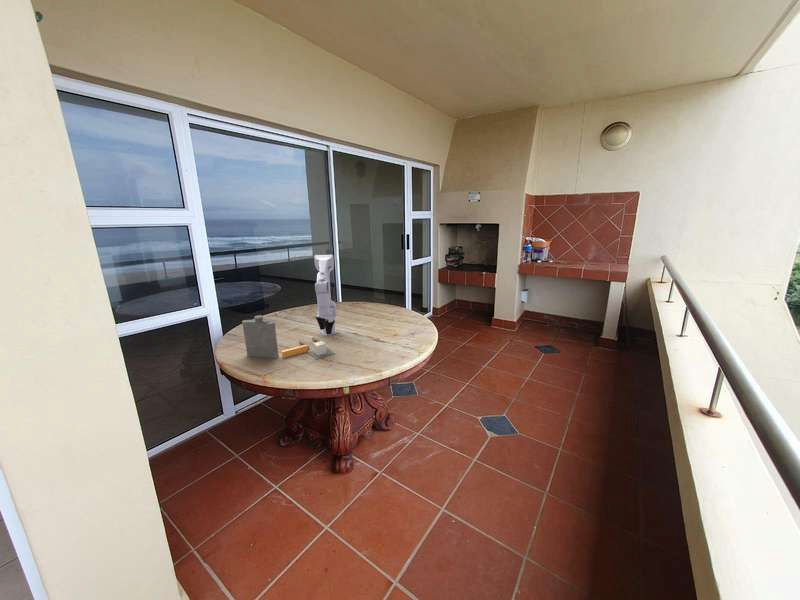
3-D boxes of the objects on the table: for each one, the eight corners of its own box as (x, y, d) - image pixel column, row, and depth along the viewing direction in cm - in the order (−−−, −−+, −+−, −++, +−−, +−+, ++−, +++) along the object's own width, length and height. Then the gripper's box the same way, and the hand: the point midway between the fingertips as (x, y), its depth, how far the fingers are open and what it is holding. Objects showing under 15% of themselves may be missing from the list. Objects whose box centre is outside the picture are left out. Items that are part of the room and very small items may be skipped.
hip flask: (245, 356, 154) (239, 316, 148) (251, 352, 157) (245, 314, 152) (276, 358, 151) (271, 318, 145) (280, 354, 155) (276, 315, 149)
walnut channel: (299, 343, 167) (299, 340, 167) (314, 339, 172) (314, 336, 172) (306, 350, 160) (306, 346, 159) (322, 345, 165) (322, 342, 164)
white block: (314, 352, 156) (313, 343, 155) (322, 350, 159) (322, 340, 157) (318, 355, 153) (317, 346, 151) (326, 353, 155) (326, 343, 154)
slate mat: (307, 352, 157) (307, 352, 157) (326, 347, 163) (326, 346, 163) (315, 360, 149) (315, 359, 149) (335, 354, 155) (335, 353, 155)
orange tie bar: (282, 356, 152) (281, 351, 152) (306, 350, 159) (305, 344, 159) (283, 358, 151) (282, 352, 150) (307, 351, 158) (307, 345, 157)
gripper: (310, 303, 158) (312, 329, 162) (322, 311, 147) (324, 338, 151) (323, 300, 162) (325, 325, 166) (336, 308, 151) (337, 334, 155)
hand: (325, 331), depth 159 cm, fingers open, 7 cm apart
